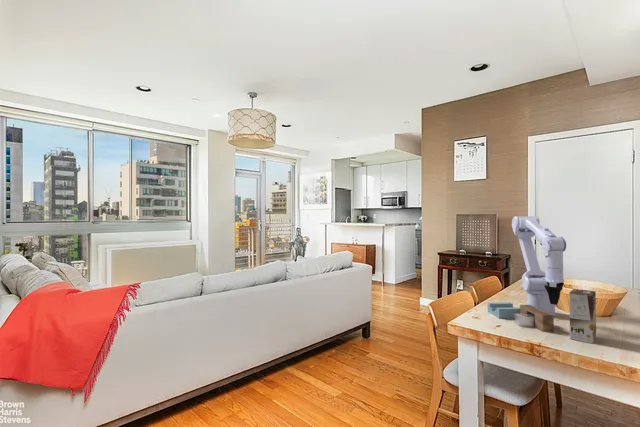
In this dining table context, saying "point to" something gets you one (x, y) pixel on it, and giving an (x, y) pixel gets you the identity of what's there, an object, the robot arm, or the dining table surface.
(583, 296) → the coffee box
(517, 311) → the v block
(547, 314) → the brown bridge block
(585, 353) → the dining table surface
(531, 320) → the grey rectangular bar
